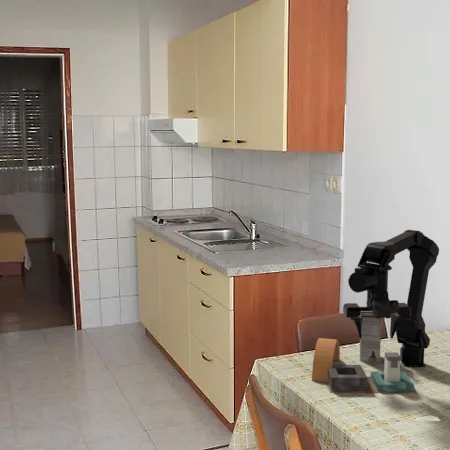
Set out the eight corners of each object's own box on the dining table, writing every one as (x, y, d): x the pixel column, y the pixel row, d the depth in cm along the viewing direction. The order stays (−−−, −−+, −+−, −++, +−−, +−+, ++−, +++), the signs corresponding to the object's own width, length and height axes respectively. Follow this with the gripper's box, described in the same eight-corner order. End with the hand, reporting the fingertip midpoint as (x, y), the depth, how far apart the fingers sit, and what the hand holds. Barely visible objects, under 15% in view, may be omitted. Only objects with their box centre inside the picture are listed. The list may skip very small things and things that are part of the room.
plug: (396, 382, 181) (397, 352, 179) (400, 388, 176) (401, 357, 175) (383, 382, 181) (384, 352, 180) (387, 388, 177) (388, 357, 175)
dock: (405, 380, 185) (405, 363, 184) (416, 396, 173) (417, 379, 172) (324, 379, 185) (324, 363, 185) (329, 396, 174) (330, 378, 173)
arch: (340, 361, 199) (341, 331, 198) (331, 385, 181) (331, 352, 179) (322, 359, 201) (322, 329, 200) (311, 383, 182) (311, 350, 181)
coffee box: (359, 354, 207) (360, 307, 205) (379, 355, 206) (380, 308, 203) (359, 364, 198) (361, 315, 196) (380, 365, 197) (382, 316, 195)
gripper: (351, 293, 173) (349, 348, 175) (418, 293, 173) (416, 347, 175) (343, 284, 184) (342, 335, 186) (406, 283, 184) (404, 334, 186)
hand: (375, 338), depth 183 cm, fingers open, 9 cm apart
